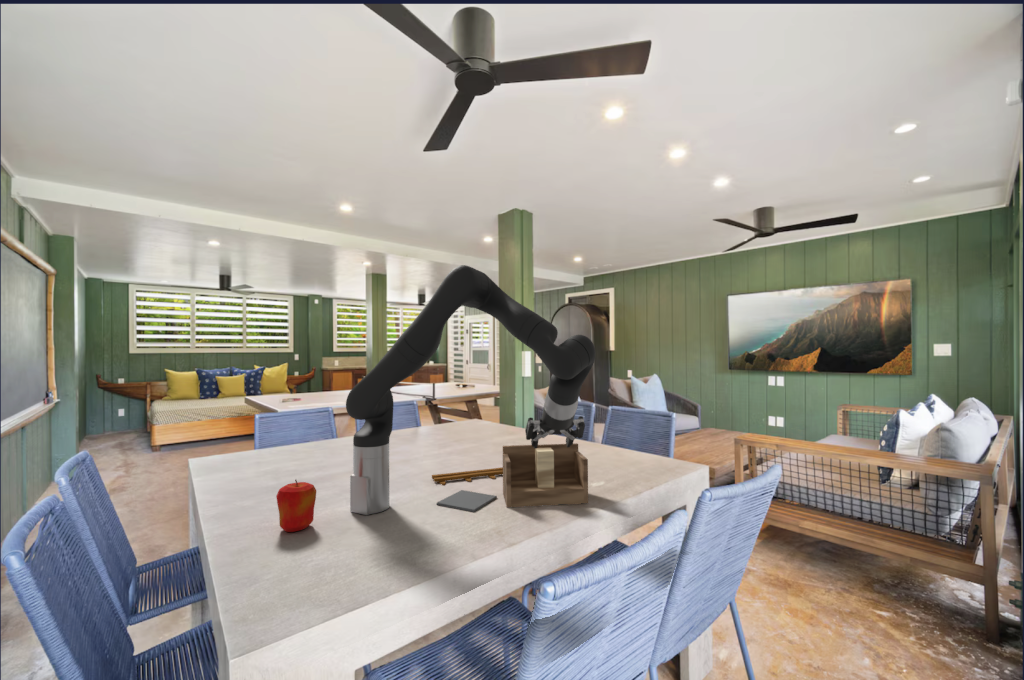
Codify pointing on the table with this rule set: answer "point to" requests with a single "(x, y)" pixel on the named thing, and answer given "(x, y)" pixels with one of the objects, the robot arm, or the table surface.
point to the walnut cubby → (566, 476)
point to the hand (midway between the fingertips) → (551, 444)
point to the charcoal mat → (467, 500)
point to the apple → (296, 506)
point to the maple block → (544, 467)
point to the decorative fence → (467, 475)
